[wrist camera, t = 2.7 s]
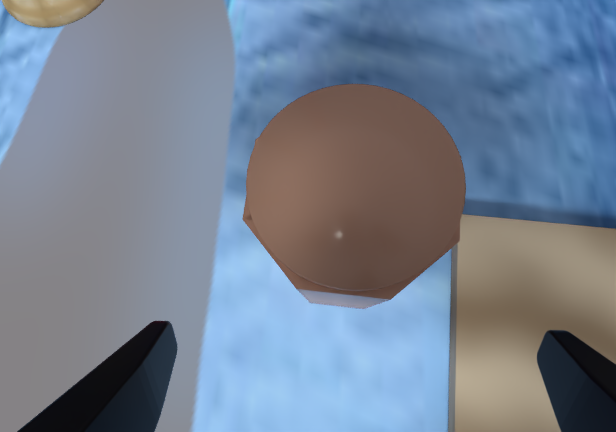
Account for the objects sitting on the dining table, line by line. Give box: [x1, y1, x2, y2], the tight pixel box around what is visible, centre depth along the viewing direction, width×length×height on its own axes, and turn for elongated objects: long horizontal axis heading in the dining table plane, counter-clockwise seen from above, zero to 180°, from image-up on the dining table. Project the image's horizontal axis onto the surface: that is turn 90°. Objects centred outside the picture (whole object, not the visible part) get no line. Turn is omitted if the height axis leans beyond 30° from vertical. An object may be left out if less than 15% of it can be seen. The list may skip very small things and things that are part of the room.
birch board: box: [448, 214, 616, 432], centre depth 19 cm, size 12×10×1 cm
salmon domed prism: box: [243, 84, 466, 309], centre depth 17 cm, size 7×7×10 cm
